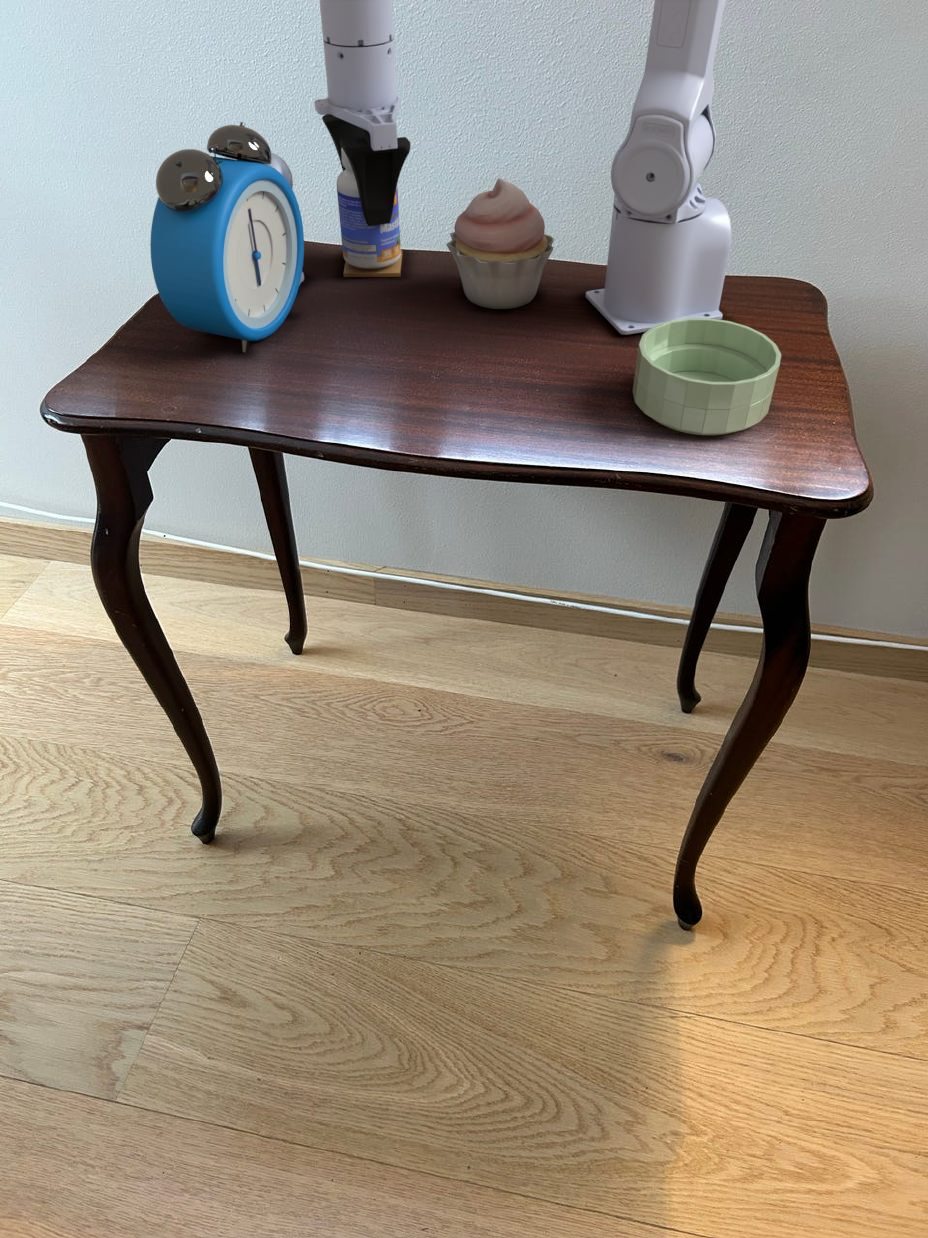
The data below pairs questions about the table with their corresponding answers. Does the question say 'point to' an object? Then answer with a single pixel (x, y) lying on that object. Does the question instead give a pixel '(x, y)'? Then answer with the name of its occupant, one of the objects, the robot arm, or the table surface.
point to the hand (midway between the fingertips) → (370, 210)
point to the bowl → (705, 375)
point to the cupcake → (500, 248)
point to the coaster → (374, 270)
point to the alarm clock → (227, 237)
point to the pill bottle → (365, 227)
